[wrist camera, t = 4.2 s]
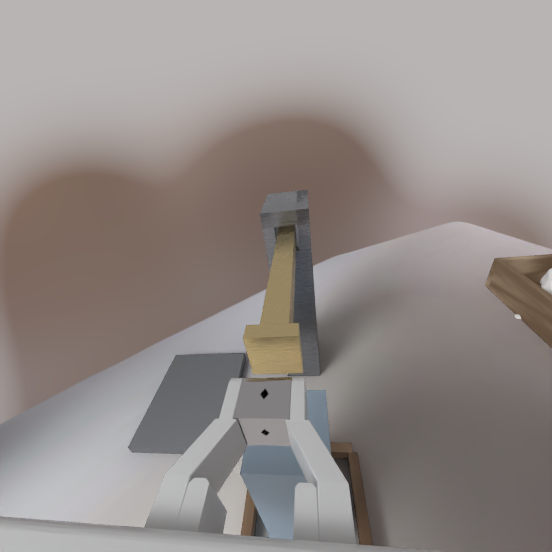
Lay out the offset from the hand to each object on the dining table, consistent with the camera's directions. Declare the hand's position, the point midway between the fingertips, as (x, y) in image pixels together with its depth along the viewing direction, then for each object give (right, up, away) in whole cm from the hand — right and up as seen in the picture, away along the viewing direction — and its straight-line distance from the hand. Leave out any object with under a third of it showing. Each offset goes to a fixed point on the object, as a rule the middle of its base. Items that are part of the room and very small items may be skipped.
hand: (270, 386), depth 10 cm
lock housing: (+4, -6, +24) cm, 25 cm away
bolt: (+1, +4, +8) cm, 9 cm away
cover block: (+3, -15, +11) cm, 19 cm away
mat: (-9, -10, +21) cm, 25 cm away
